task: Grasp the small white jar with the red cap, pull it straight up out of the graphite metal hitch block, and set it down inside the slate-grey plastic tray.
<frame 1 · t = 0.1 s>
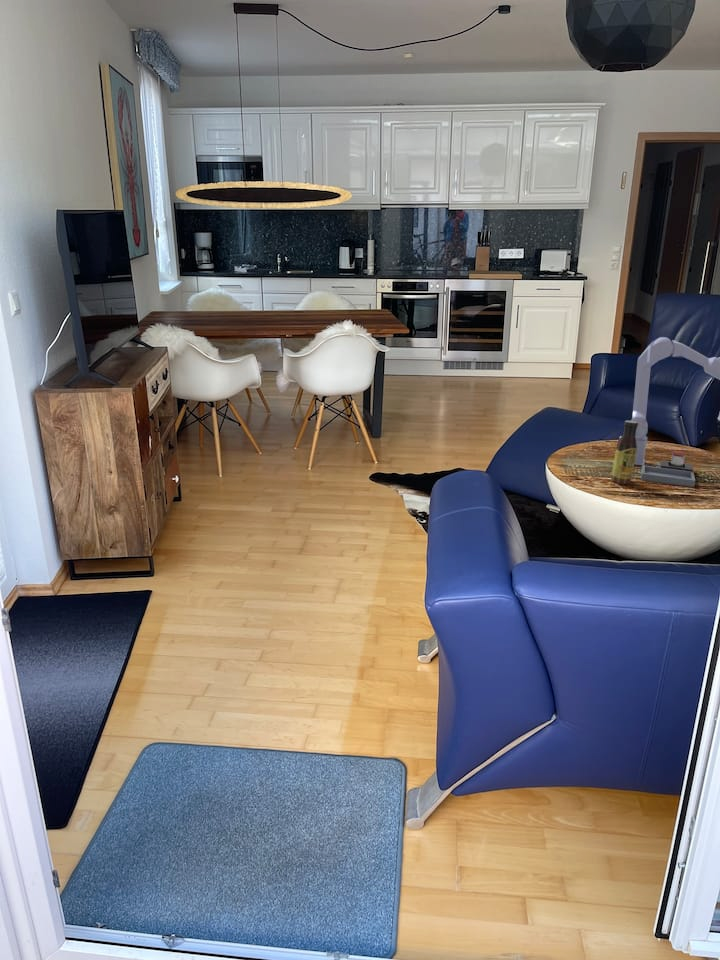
hitch block: (675, 471, 247), on the table
tray: (666, 479, 238), on the table
sauce bottle: (620, 482, 233), on the table
small white jar: (675, 472, 247), resting in hitch block
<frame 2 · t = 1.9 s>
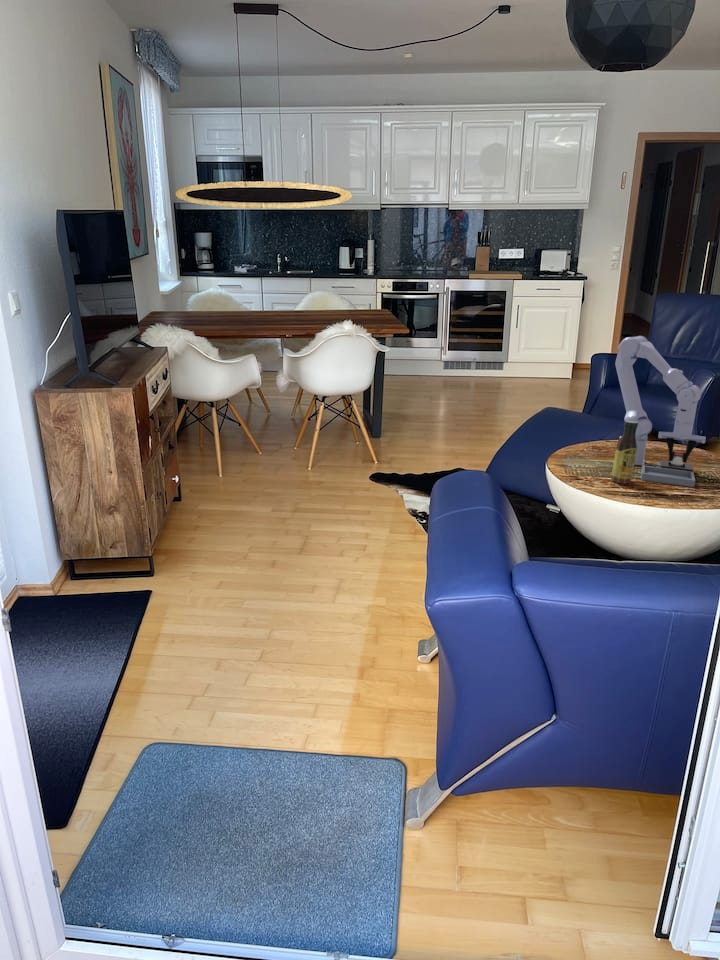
hand: (677, 460, 246), 4 cm above the table, tool pointing down, fingers closed on small white jar, 4 cm apart
small white jar: (675, 471, 247), resting in hitch block, touching gripper
everything else where it was.
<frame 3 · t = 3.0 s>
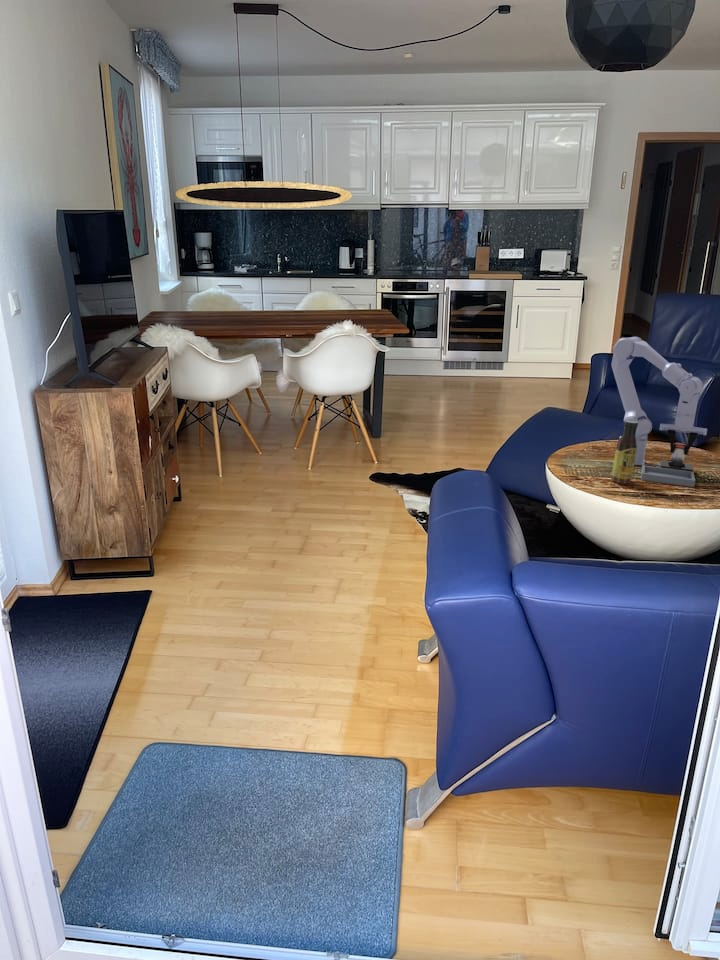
hand: (678, 453, 245), 7 cm above the table, tool pointing down, fingers closed on small white jar, 4 cm apart
small white jar: (676, 464, 246), point 3 cm above the table, touching gripper
everything else where it was.
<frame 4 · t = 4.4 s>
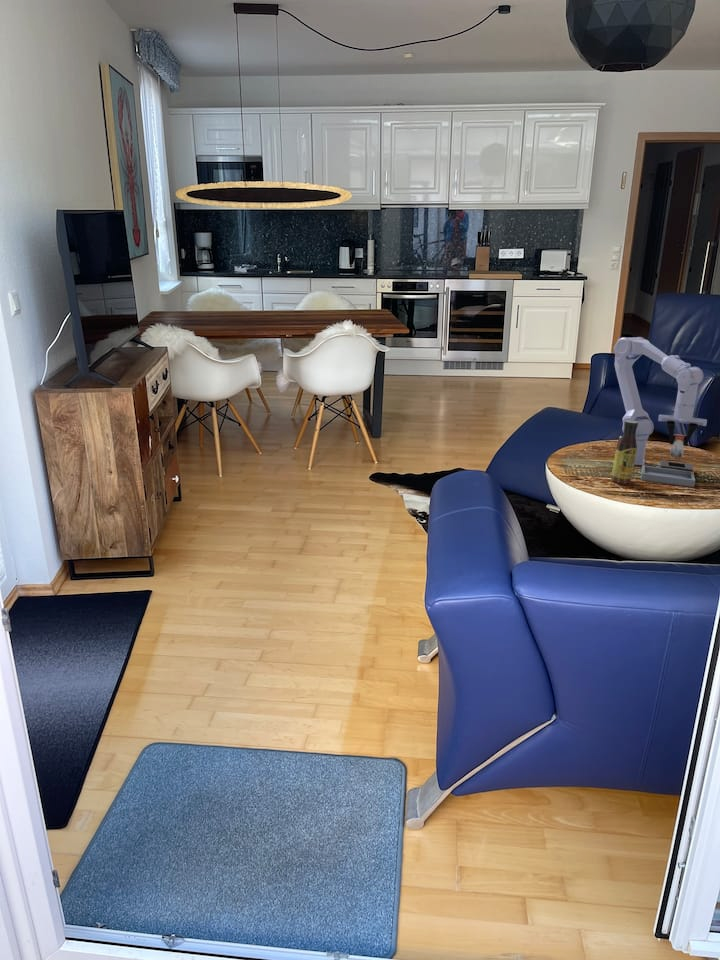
hand: (678, 444, 241), 10 cm above the table, tool pointing down, fingers closed on small white jar, 4 cm apart
small white jar: (676, 455, 242), point 6 cm above the table, touching gripper
everything else where it was.
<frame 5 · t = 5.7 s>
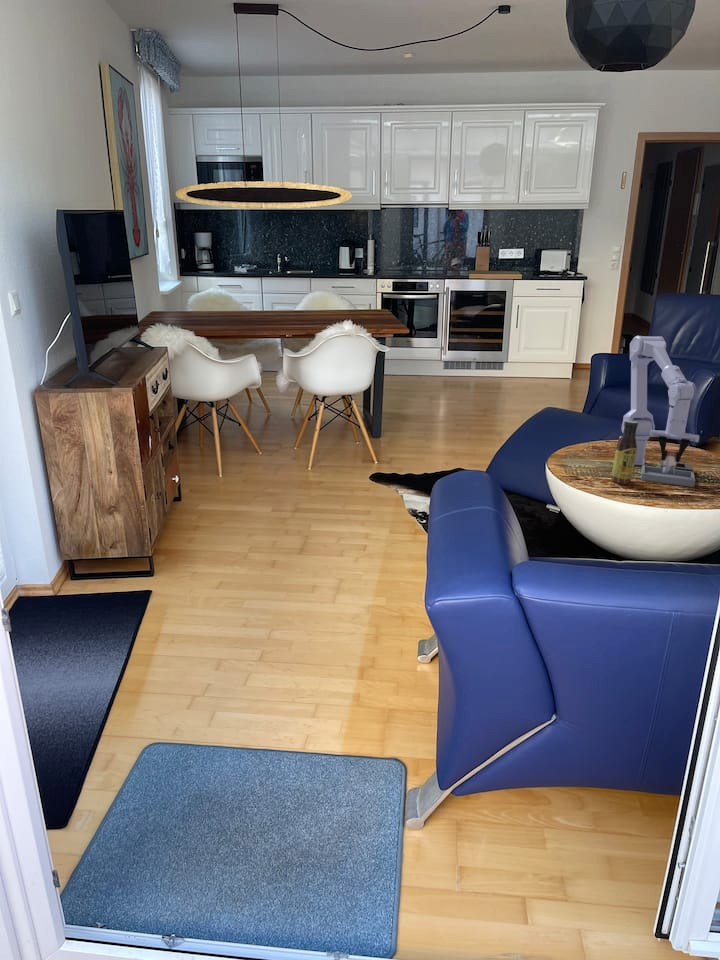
hand: (670, 460, 236), 6 cm above the table, tool pointing down, fingers closed on small white jar, 4 cm apart
small white jar: (668, 472, 238), point 2 cm above the table, touching gripper
everything else where it was.
when the fingers open (6 cm above the table, at t = 6.6 s): small white jar drops 1 cm, resting on tray.
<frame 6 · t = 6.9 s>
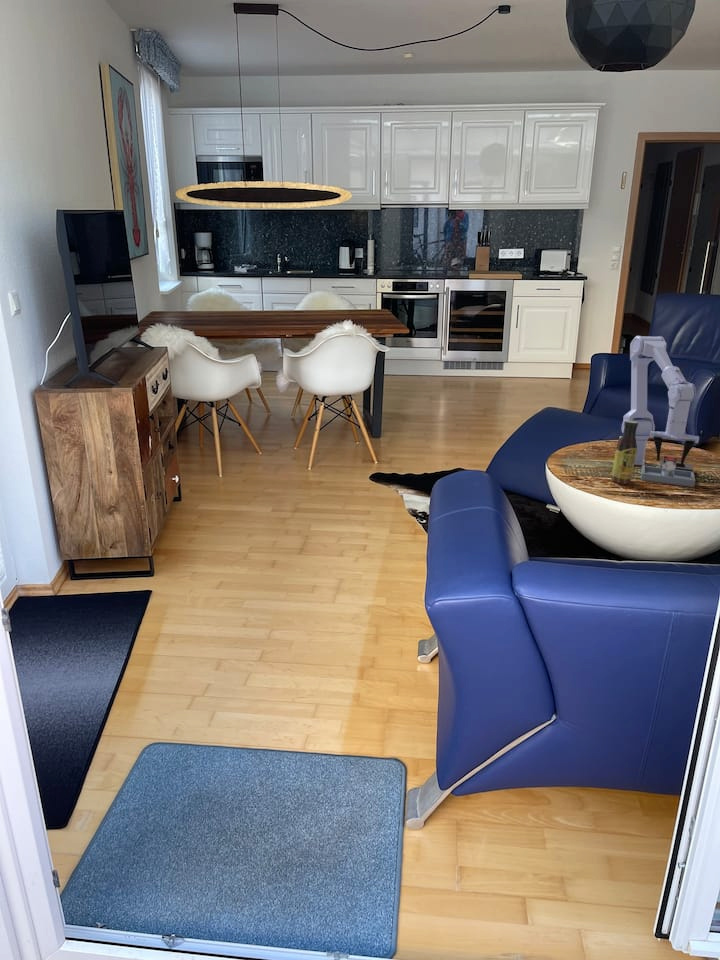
hand: (669, 461, 237), 6 cm above the table, tool pointing down, fingers open, 7 cm apart
small white jar: (666, 477, 238), point 1 cm above the table, touching tray
everything else where it was.
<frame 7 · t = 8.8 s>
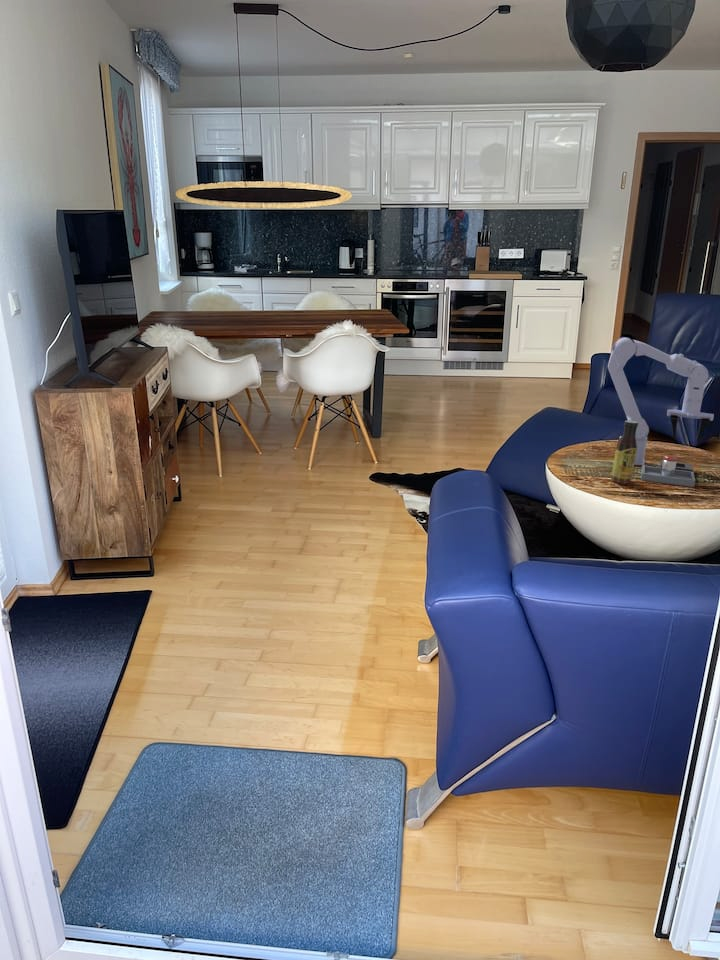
hand: (685, 438, 250), 10 cm above the table, tool pointing down, fingers open, 7 cm apart
nothing on the table moved.
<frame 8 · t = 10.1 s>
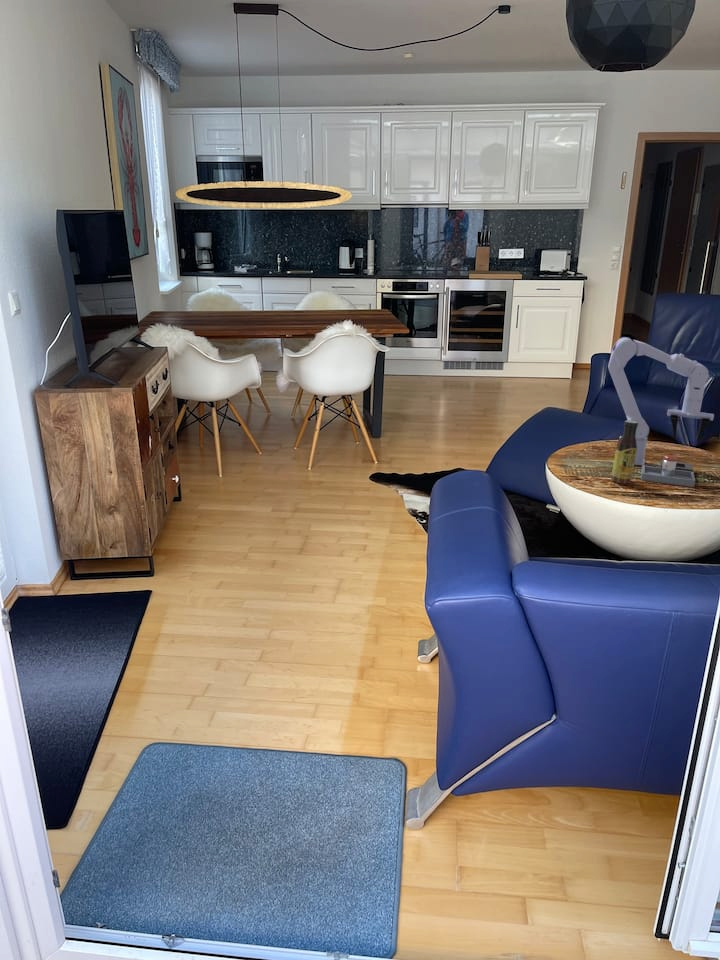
hand: (686, 438, 251), 10 cm above the table, tool pointing down, fingers open, 7 cm apart
nothing on the table moved.
at the end: small white jar inside the target area on the tray (0.1 cm from its centre), point 0.6 cm above the tray's base; the gripper is holding nothing; small white jar touching tray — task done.
